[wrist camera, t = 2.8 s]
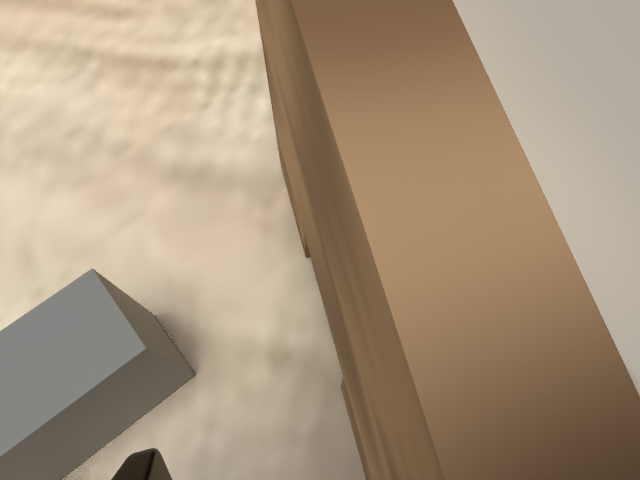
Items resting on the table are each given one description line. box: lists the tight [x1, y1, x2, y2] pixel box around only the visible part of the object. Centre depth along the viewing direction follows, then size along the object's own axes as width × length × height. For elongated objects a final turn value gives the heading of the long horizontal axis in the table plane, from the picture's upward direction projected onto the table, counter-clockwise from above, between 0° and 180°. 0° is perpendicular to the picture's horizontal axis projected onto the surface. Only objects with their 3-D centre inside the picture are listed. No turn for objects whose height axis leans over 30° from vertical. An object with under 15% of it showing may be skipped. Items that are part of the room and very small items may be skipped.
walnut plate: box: [256, 0, 640, 480], centre depth 12 cm, size 12×2×12 cm, turn 15°
